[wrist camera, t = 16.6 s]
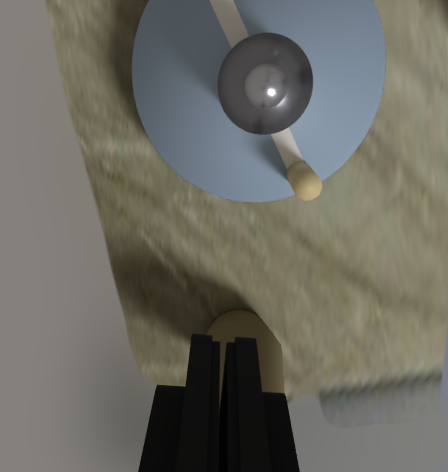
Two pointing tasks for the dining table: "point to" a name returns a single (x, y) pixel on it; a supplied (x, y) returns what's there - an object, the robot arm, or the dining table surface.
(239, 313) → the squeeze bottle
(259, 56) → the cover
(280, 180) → the turntable
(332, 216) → the dining table surface
